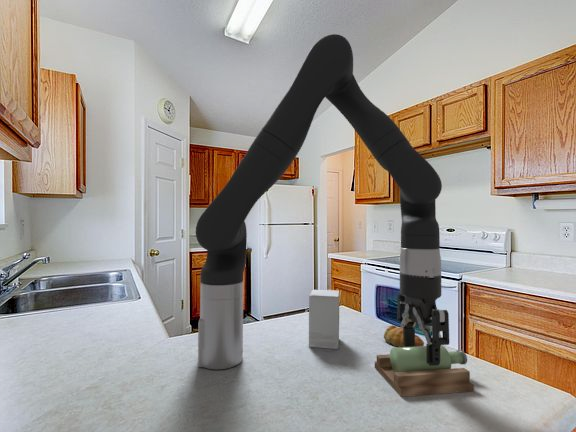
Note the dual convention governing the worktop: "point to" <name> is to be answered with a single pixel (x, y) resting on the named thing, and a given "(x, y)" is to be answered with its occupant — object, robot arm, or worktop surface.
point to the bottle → (423, 359)
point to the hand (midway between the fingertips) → (420, 354)
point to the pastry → (399, 337)
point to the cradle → (424, 379)
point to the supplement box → (324, 319)
